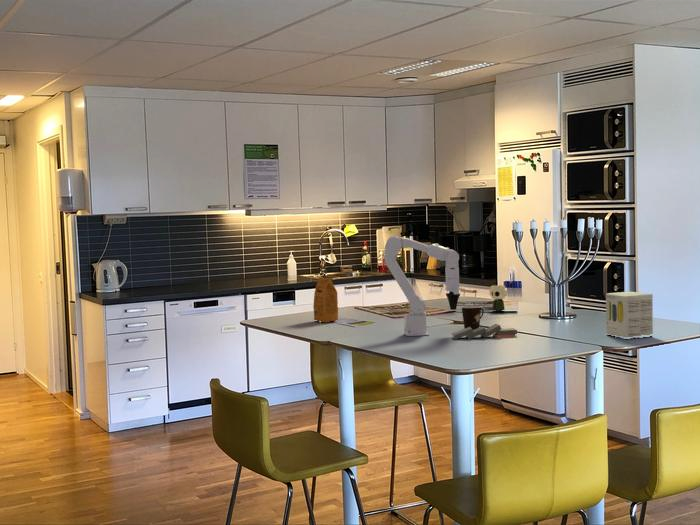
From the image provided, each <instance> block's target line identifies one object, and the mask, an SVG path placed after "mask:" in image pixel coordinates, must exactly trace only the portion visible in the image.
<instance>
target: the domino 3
mask: <svg viewBox="0 0 700 525" xmlns="http://www.w3.org/2000/svg"><path fill="white" fill-rule="evenodd" d="M495 334H497V335H511V334H515V335H518V329H516V328H513V327H511V328H510V327H508V328H507V327H506V328H501V330H499V331H497V332H495Z"/></svg>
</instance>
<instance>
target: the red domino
mask: <svg viewBox="0 0 700 525" xmlns="http://www.w3.org/2000/svg"><path fill="white" fill-rule="evenodd" d="M492 336H493V337H494V338H512V337H513V338H515V337H516V334H511V335H497V334H495V333H494V334H492Z"/></svg>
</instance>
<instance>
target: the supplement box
mask: <svg viewBox="0 0 700 525" xmlns="http://www.w3.org/2000/svg"><path fill="white" fill-rule="evenodd" d="M653 300H654V299H653V293H646V292H640V291H639V292H637V291H621V292H608V293H605V315H606V316H605V320H606V321H605V322H606V323H605V324H606V326H605V329H606V331H605V332H606V333H607V334H611V335H617V336H623V337H633V336H641V335H650V334H653V328H654V327H653V326H654V325H653V323H654V322H653V321H654V320H653V317H654V316H653V315H654V314H653V313H654V312H653V306H654V305H653ZM653 335H654V334H653Z"/></svg>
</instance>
